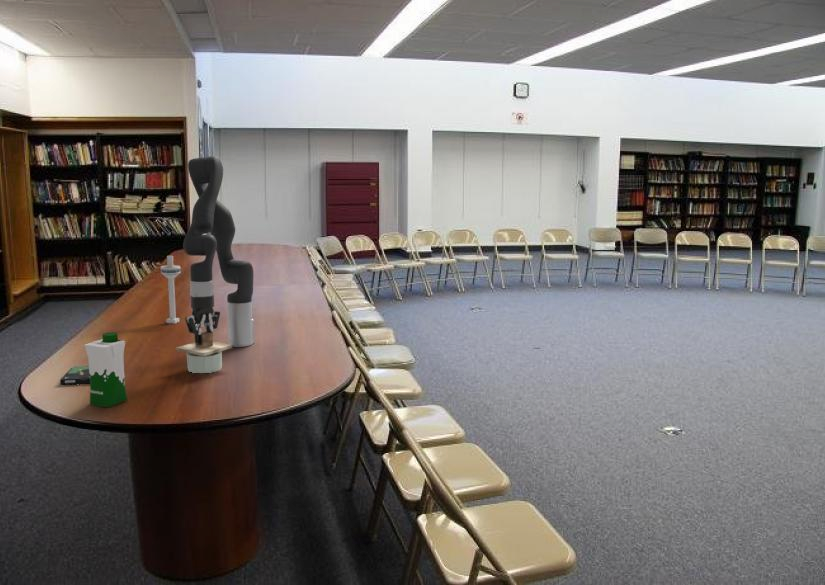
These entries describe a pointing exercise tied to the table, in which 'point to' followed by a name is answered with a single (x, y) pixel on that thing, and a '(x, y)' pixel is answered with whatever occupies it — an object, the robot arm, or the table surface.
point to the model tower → (171, 286)
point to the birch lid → (204, 346)
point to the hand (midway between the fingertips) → (204, 343)
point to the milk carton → (106, 370)
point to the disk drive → (76, 376)
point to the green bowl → (204, 363)
